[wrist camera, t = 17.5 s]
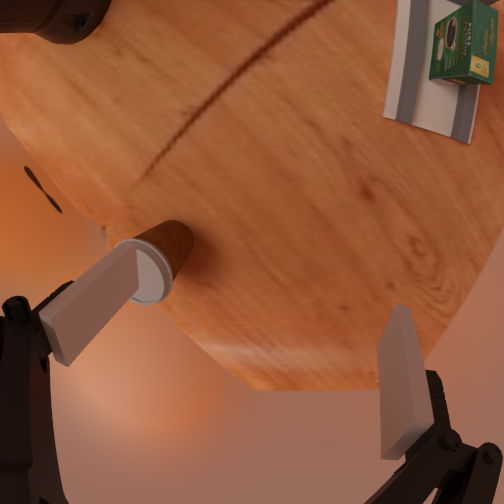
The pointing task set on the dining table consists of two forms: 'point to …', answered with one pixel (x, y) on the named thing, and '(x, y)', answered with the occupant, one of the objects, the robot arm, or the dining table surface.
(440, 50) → the coffee box
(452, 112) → the rack
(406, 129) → the dining table surface
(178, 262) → the disposable coffee cup
